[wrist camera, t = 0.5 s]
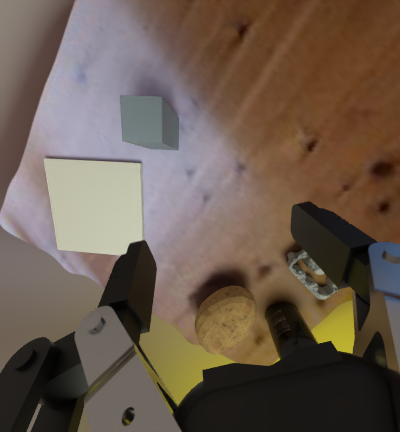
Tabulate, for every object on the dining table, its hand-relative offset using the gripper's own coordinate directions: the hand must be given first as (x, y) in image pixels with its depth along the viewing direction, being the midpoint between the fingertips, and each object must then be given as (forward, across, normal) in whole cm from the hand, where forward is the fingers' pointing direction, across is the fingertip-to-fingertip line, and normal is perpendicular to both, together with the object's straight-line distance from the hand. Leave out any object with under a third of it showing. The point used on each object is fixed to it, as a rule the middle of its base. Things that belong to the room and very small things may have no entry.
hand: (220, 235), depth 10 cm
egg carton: (+16, -18, +24) cm, 34 cm away
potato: (+16, 0, +30) cm, 34 cm away
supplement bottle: (+13, -11, +34) cm, 38 cm away
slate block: (+27, +4, -3) cm, 27 cm away
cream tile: (+26, +20, +7) cm, 34 cm away
